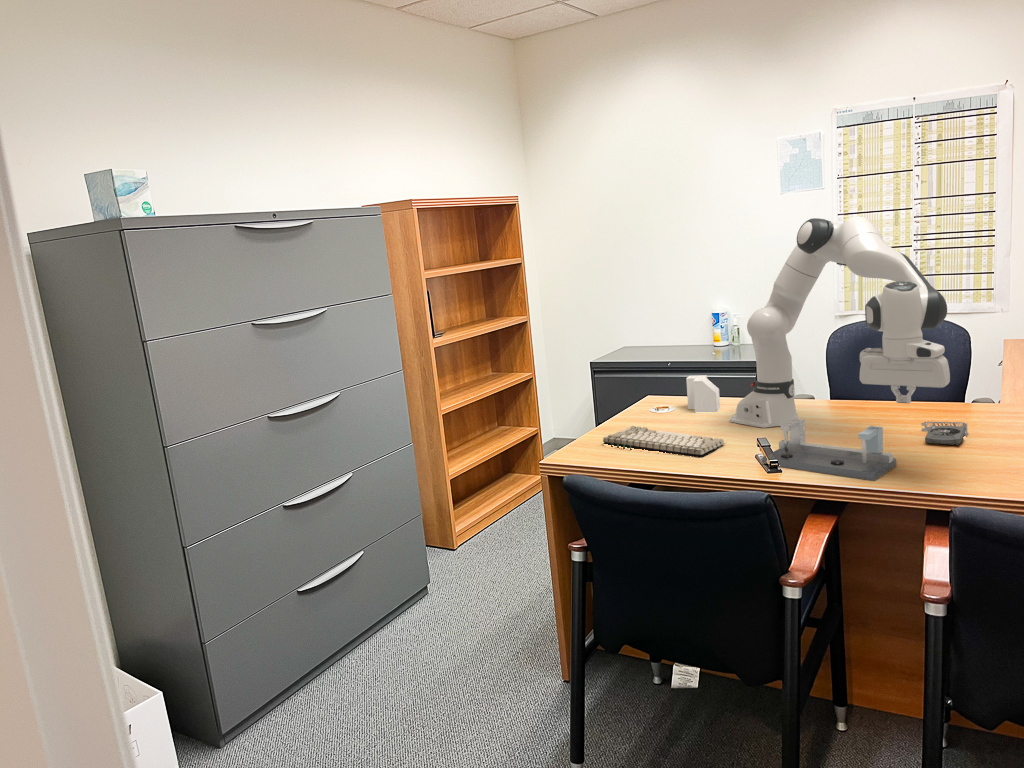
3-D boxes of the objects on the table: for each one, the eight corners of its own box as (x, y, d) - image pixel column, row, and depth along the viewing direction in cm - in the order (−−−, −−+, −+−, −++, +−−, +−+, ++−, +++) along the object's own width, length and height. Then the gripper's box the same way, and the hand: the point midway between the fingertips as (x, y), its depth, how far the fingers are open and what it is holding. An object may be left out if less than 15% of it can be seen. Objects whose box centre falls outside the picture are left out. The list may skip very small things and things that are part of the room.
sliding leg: (857, 462, 191) (857, 433, 190) (871, 454, 197) (870, 425, 196) (869, 464, 189) (869, 434, 188) (883, 455, 195) (882, 426, 194)
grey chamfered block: (690, 406, 285) (688, 375, 283) (721, 406, 280) (719, 374, 278) (685, 413, 275) (683, 381, 273) (717, 413, 271) (715, 380, 269)
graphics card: (921, 420, 223) (968, 421, 216) (922, 432, 224) (969, 434, 217) (913, 435, 210) (962, 437, 203) (913, 448, 211) (963, 450, 204)
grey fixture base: (762, 464, 208) (761, 426, 206) (787, 451, 217) (785, 415, 215) (874, 480, 186) (873, 439, 184) (896, 465, 195) (895, 426, 193)
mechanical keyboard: (731, 444, 232) (730, 434, 231) (701, 461, 218) (700, 450, 218) (629, 433, 257) (628, 424, 257) (596, 448, 244) (595, 438, 243)
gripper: (854, 349, 190) (856, 402, 192) (943, 351, 175) (943, 408, 177) (864, 345, 194) (866, 397, 196) (951, 346, 179) (952, 402, 182)
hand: (903, 402), depth 187 cm, fingers closed
